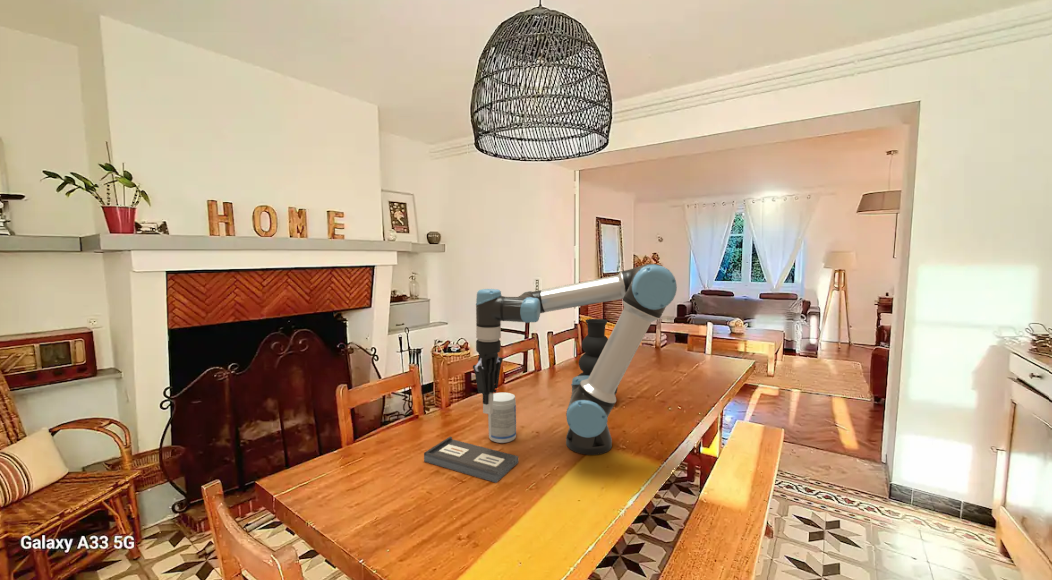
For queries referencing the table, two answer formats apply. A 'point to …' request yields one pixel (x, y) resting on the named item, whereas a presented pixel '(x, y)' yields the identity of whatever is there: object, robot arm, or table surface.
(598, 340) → the vase
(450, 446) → the label
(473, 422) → the table surface
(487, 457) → the label
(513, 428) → the supplement tub
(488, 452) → the label board
